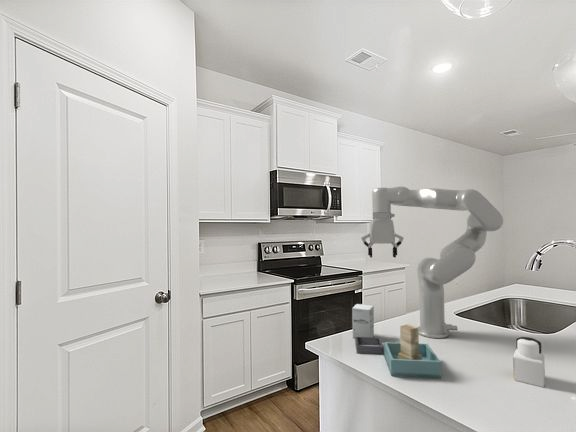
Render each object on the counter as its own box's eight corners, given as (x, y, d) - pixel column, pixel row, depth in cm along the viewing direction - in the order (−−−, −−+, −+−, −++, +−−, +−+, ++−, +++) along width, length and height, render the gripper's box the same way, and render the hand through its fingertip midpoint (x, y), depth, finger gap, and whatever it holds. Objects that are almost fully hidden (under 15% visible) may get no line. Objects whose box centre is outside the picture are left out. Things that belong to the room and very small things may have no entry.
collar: (380, 344, 127) (380, 337, 127) (383, 354, 118) (383, 347, 118) (355, 343, 129) (355, 336, 129) (356, 353, 119) (356, 346, 119)
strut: (408, 358, 112) (407, 323, 112) (421, 364, 107) (421, 327, 107) (398, 362, 109) (397, 326, 109) (411, 368, 104) (410, 330, 105)
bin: (427, 358, 114) (427, 343, 114) (441, 378, 100) (440, 361, 100) (384, 356, 116) (384, 342, 116) (391, 376, 102) (391, 359, 102)
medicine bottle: (516, 371, 103) (515, 333, 103) (544, 378, 99) (543, 338, 99) (513, 380, 98) (512, 340, 98) (544, 388, 93) (543, 345, 93)
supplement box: (352, 338, 134) (351, 307, 134) (357, 332, 140) (356, 303, 141) (370, 341, 130) (369, 309, 131) (374, 335, 137) (373, 305, 137)
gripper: (401, 216, 142) (402, 256, 142) (360, 217, 144) (361, 256, 144) (404, 216, 135) (405, 258, 134) (361, 217, 137) (362, 258, 137)
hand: (382, 257), depth 139 cm, fingers open, 9 cm apart
